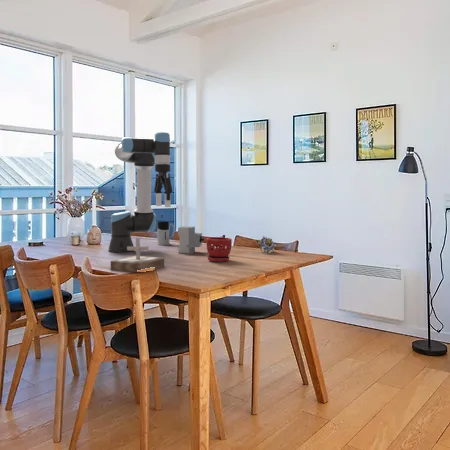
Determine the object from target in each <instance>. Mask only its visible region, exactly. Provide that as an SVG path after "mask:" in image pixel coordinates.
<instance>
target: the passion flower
mask: <svg viewBox="0 0 450 450" xmlns="http://www.w3.org/2000/svg"><path fill="white" fill-rule="evenodd" d="M256 243H257V244H258V245H259V249H260V250H263V251H264V253H267V254H269V255H270V254H271V252H275V247H277V244H275V241H273V239H272V238H270V237H265V236H264V235H263V236H262V238H261V239H258V240H256Z"/></svg>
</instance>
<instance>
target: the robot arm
mask: <svg viewBox="0 0 450 450" xmlns="http://www.w3.org/2000/svg"><path fill="white" fill-rule="evenodd" d="M114 154H115V156H116V158H117V159H118V160H120V161H122V162H125V163H131V164H132V163H133V165H134V168H135V169H136V208H135V209H134V210H133V213H132V212H131V211H121V212H115V213H112V214H111V215H110V216H111V217H110V230H111V232H110V234H111V238H110V242H109V245H108V251H109V252H113V253H123V252H124V253H126V252H133V251H134V250H127V247H135V245H134V243H133V240H132V233H133V234H135V233H137V234H139V233H152V232H154V231H155V229H156V225H157V214H156V213H155V212H154V210H153V209H152V168H154V172H155V173H156V174H155V183H154V188H153V191H154V193H155V207H162V188H163V189H164V208H171V205H172V203H171V202H172V201H171V197H172V196H171V195H172V193H173V187H172V183H171V182H172V181H171V177H170V176H171V175H170V172H171V164H170V163H171V159H172V158H171V137H170V133H169V132H163V131H160V132H159V131H158V132H156V133H154V138H153V137H152V138H148V137H147V138H145V137H143V138H142V137H122V139H121V143H118V144H117V145H116V147H115V148H114Z"/></svg>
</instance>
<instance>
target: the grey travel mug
mask: <svg viewBox="0 0 450 450" xmlns="http://www.w3.org/2000/svg"><path fill="white" fill-rule="evenodd" d="M171 226H172V227H173V229H172V230H173V231H172V234H171V236H170V230H171ZM156 231H157V242H156V245H157V246H168V245H171V244H170V239H172V237H173V236H174V234H175V225H174V224H171V223H170V222H169V221H157V230H156Z"/></svg>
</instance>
